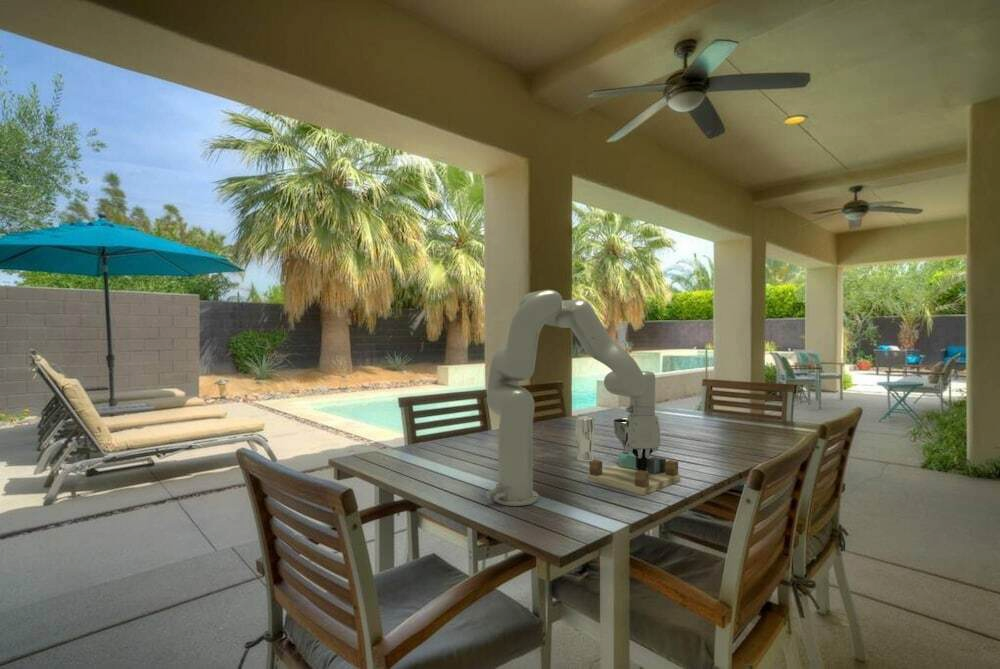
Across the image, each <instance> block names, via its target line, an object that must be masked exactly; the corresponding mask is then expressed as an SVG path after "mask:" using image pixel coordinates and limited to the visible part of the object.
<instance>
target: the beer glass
mask: <svg viewBox="0 0 1000 669" xmlns="http://www.w3.org/2000/svg"><path fill="white" fill-rule="evenodd" d="M595 423H596V422H595V418H594V417H592V416H577V417H576V418H575V427H574V428H575V430H574V431H575V439H576V444H577V456H576V460H577V461H580V462H586V463H587V462H589V461H593V460H595V457H594V449H593V448H594V441H595V437H596V436H595V435H596V428H595Z"/></svg>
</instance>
